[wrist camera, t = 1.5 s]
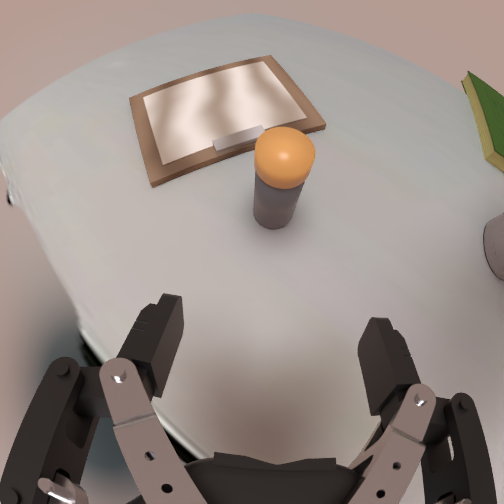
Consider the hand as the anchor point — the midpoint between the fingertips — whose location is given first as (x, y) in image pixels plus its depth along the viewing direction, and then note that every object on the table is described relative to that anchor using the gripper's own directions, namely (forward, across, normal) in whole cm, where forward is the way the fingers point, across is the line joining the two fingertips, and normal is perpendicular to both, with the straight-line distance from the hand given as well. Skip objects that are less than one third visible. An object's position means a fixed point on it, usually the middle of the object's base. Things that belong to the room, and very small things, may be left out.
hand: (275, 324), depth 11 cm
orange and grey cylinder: (+19, 0, +2) cm, 19 cm away
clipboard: (+29, +8, -7) cm, 31 cm away
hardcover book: (+38, -47, -16) cm, 63 cm away
